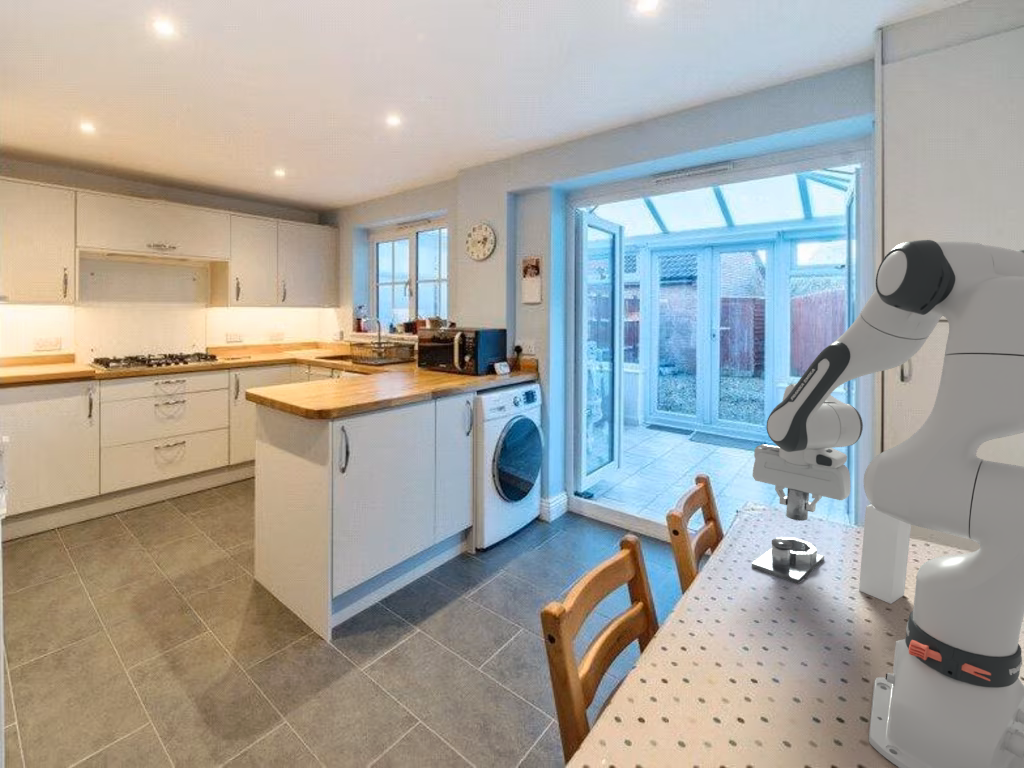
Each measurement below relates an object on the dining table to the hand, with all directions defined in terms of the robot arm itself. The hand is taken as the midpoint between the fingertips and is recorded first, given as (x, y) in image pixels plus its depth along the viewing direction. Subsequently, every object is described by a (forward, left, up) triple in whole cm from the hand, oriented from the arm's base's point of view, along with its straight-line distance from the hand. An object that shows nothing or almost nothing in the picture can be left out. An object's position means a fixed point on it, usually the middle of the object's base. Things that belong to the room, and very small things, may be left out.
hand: (797, 507), depth 118 cm
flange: (-3, 0, -13) cm, 13 cm away
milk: (-2, -18, -13) cm, 22 cm away
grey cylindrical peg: (0, 0, -2) cm, 2 cm away
